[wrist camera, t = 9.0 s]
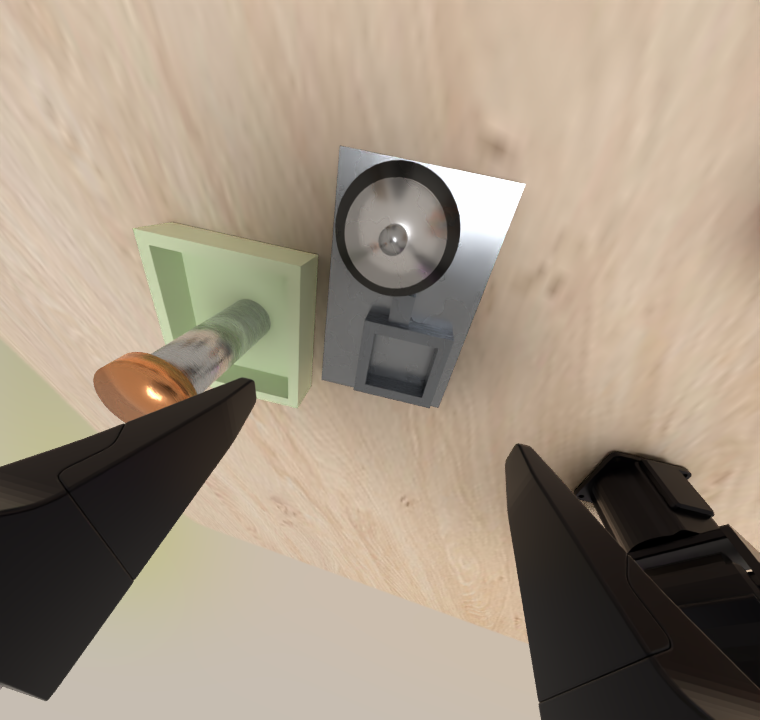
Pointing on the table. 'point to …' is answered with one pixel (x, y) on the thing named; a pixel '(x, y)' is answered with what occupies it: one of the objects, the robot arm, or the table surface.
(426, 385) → the tensioner
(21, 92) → the table surface
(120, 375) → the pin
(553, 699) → the robot arm
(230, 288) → the tray
